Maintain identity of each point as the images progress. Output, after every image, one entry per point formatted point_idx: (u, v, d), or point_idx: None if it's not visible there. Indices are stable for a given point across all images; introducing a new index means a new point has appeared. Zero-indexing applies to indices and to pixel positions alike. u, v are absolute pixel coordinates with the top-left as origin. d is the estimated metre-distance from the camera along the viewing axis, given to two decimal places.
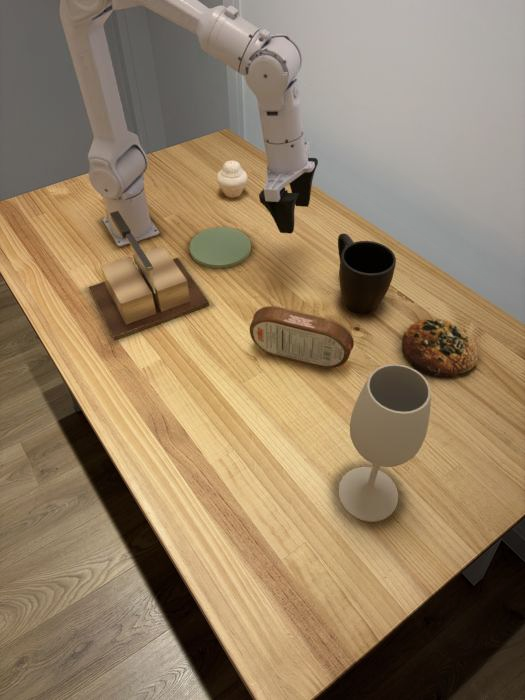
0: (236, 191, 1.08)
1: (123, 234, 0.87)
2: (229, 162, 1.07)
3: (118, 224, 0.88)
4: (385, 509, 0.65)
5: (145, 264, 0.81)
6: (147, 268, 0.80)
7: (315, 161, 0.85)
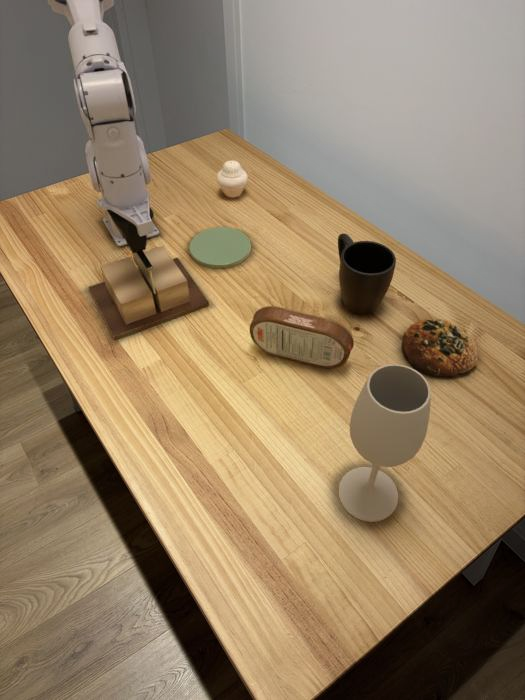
0: (236, 191, 1.08)
1: None
2: (229, 162, 1.07)
3: None
4: (385, 509, 0.65)
5: (145, 264, 0.81)
6: (147, 268, 0.80)
7: (115, 218, 0.76)
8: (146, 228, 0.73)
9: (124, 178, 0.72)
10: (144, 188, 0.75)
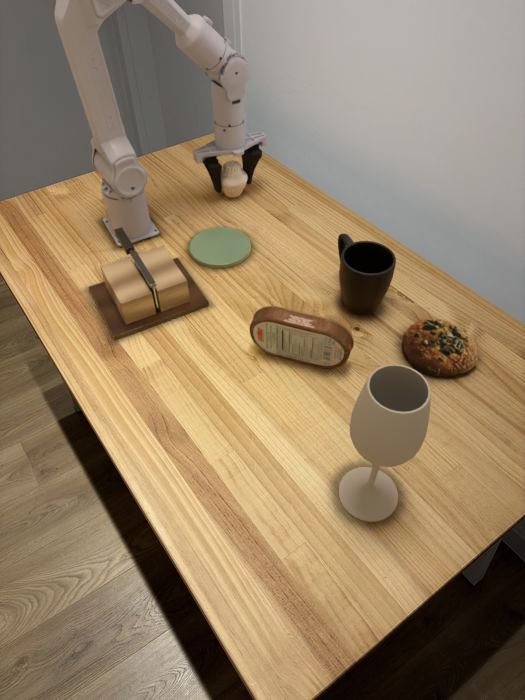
0: (236, 191, 1.08)
1: (127, 250, 0.89)
2: (229, 162, 1.07)
3: (122, 241, 0.90)
4: (385, 509, 0.65)
5: (148, 281, 0.83)
6: (150, 285, 0.83)
7: (257, 153, 1.05)
8: None
9: None
10: None
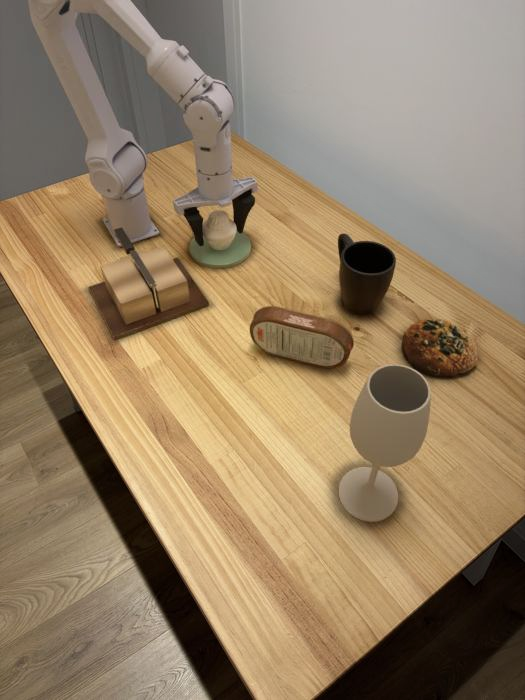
0: (224, 244, 0.96)
1: (127, 250, 0.89)
2: (215, 212, 0.94)
3: (122, 241, 0.90)
4: (385, 509, 0.65)
5: (148, 281, 0.83)
6: (150, 285, 0.83)
7: (250, 201, 0.92)
8: None
9: None
10: None
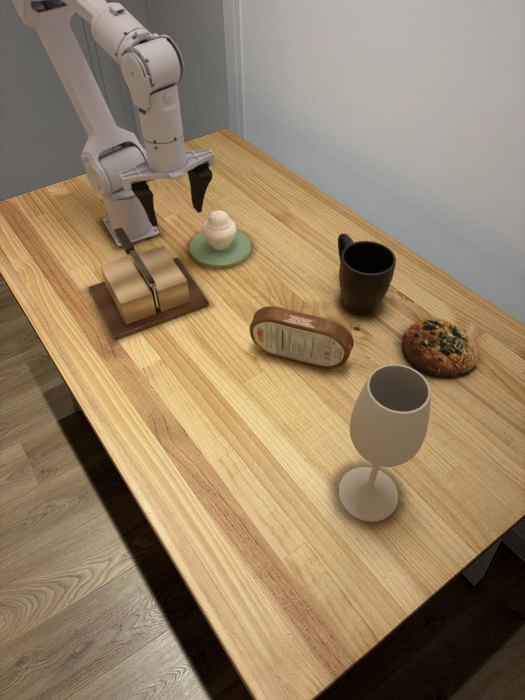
0: (224, 244, 0.96)
1: (127, 250, 0.89)
2: (215, 212, 0.94)
3: (122, 241, 0.90)
4: (385, 509, 0.65)
5: (148, 281, 0.83)
6: (150, 285, 0.83)
7: (206, 174, 0.83)
8: None
9: None
10: None
